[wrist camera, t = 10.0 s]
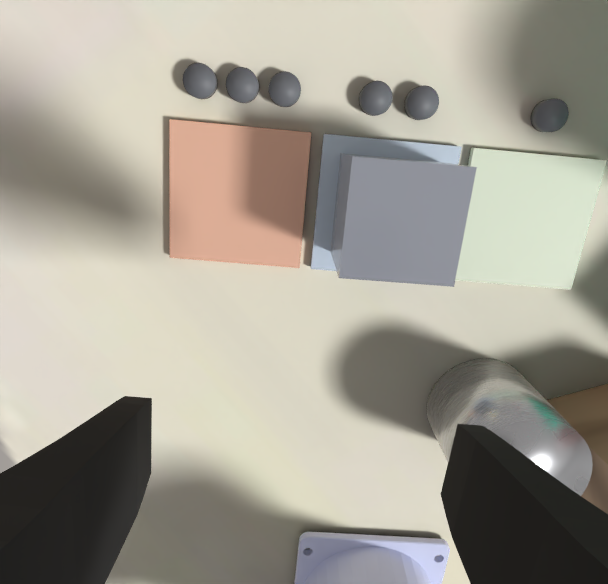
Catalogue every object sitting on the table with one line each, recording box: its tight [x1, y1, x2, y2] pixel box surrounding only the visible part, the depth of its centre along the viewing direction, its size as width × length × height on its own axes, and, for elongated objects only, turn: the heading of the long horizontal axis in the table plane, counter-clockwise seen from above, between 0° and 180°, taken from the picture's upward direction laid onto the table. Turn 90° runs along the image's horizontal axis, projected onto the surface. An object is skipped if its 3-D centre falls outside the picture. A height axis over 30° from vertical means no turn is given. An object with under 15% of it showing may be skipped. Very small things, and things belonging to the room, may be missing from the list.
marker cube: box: [330, 153, 477, 287], centre depth 17 cm, size 4×4×4 cm
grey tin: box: [427, 359, 593, 496], centre depth 20 cm, size 5×5×5 cm
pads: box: [169, 63, 607, 290], centre depth 19 cm, size 8×18×1 cm, turn 85°
